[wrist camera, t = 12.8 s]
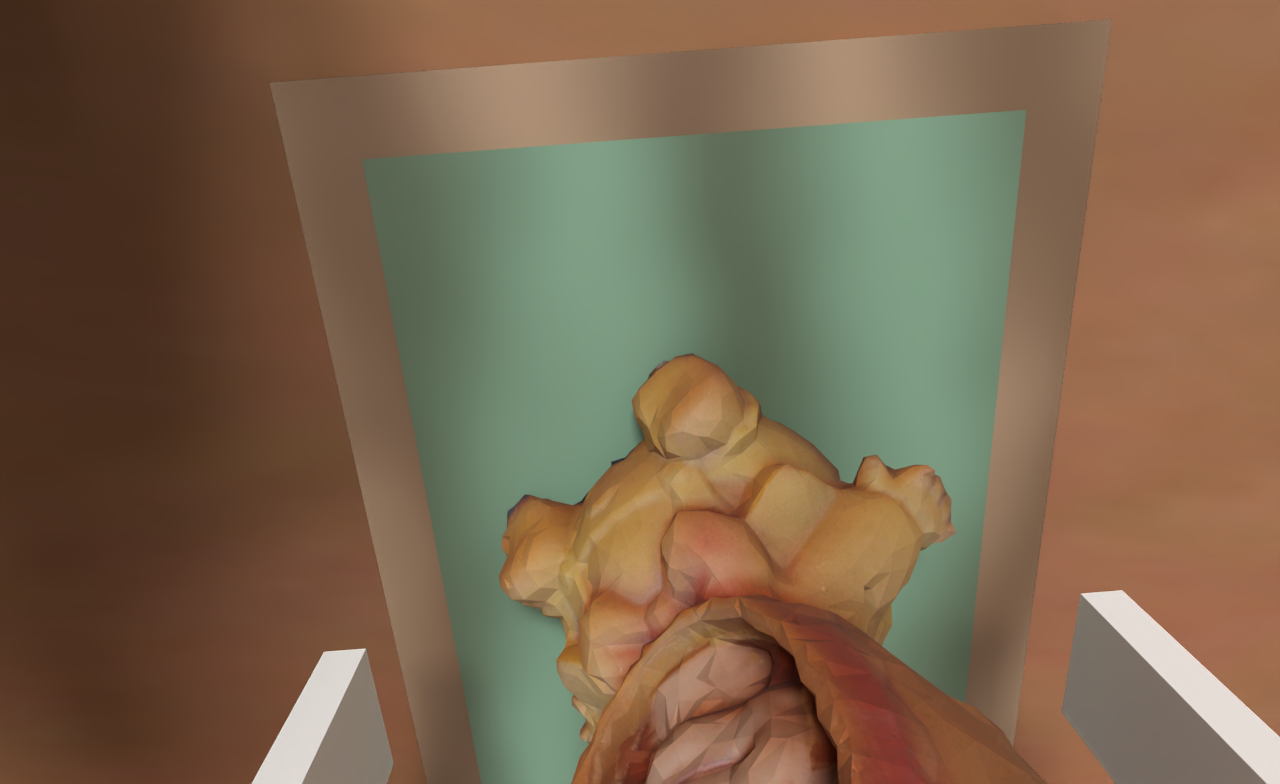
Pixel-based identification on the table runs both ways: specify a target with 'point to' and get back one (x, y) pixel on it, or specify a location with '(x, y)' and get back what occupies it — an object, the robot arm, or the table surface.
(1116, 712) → the robot arm
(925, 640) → the green framed board
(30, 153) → the table surface
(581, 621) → the figurine
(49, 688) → the table surface
